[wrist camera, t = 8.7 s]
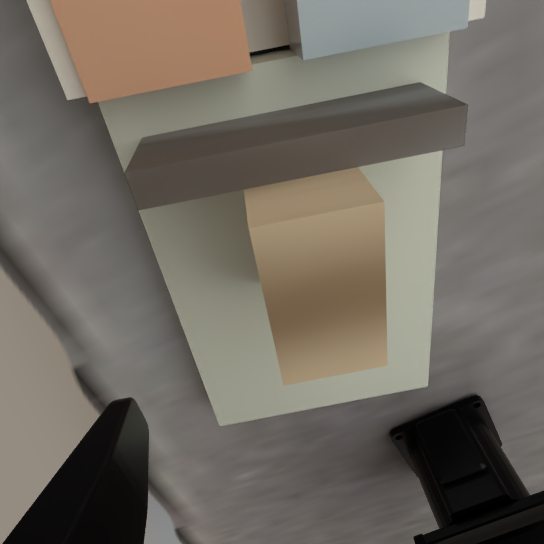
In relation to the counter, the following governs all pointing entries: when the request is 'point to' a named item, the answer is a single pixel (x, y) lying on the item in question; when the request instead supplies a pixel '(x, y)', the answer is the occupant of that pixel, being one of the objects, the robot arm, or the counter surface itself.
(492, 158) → the counter surface
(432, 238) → the board
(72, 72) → the tray
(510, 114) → the counter surface
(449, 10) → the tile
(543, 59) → the counter surface
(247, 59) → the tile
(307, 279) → the scraper
